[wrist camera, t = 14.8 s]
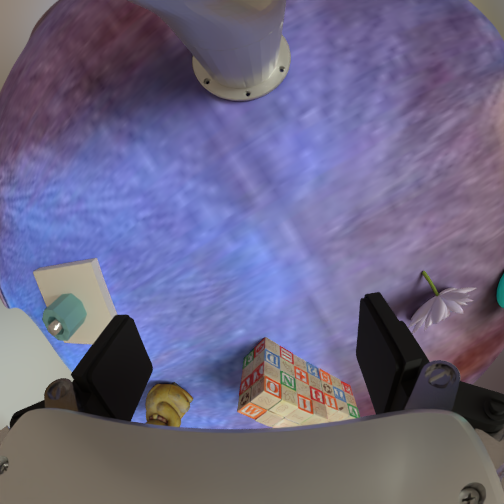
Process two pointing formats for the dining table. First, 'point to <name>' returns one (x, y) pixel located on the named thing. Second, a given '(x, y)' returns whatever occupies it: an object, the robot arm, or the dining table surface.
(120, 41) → the dining table surface
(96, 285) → the board
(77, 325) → the bead
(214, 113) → the dining table surface
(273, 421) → the stack of blocks
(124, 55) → the dining table surface
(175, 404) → the decorative figurine
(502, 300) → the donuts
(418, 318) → the water lily
